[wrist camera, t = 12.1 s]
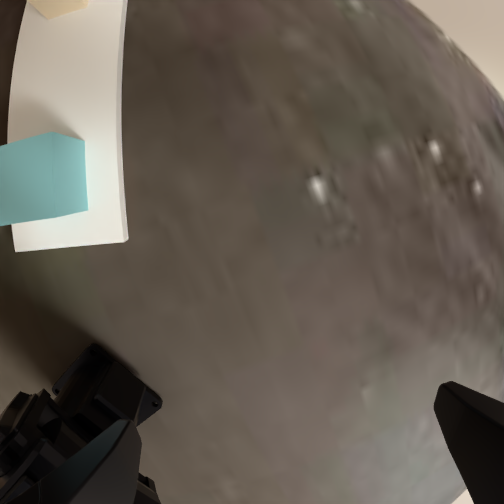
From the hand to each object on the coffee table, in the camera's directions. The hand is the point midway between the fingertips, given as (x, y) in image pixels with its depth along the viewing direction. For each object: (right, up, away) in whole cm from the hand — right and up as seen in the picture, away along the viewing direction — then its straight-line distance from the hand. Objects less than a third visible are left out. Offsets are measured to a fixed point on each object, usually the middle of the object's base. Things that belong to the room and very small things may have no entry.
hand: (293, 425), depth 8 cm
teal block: (-12, +9, +8) cm, 17 cm away
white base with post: (-13, +15, +8) cm, 21 cm away
